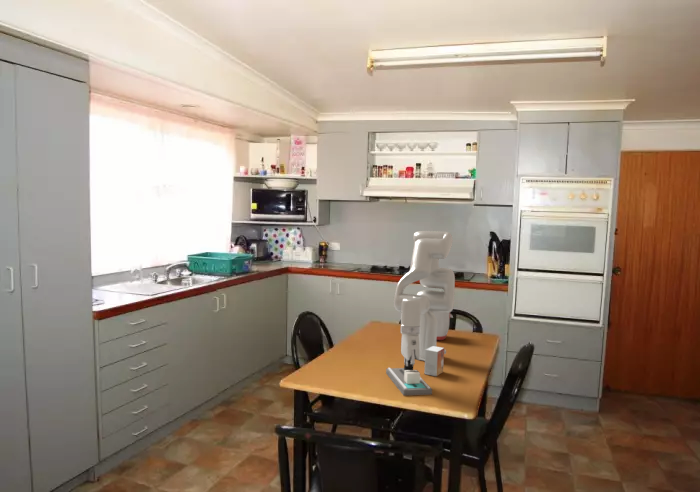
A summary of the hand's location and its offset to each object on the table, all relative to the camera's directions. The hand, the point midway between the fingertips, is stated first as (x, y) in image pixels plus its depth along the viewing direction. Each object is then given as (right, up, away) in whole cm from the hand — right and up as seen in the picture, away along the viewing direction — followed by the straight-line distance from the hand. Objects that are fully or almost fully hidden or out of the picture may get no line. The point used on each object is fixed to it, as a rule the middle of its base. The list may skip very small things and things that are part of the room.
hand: (408, 375), depth 192 cm
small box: (+12, -3, +15) cm, 19 cm away
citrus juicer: (+24, +1, +74) cm, 77 cm away
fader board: (0, -3, +1) cm, 3 cm away
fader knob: (+1, -1, -4) cm, 4 cm away
